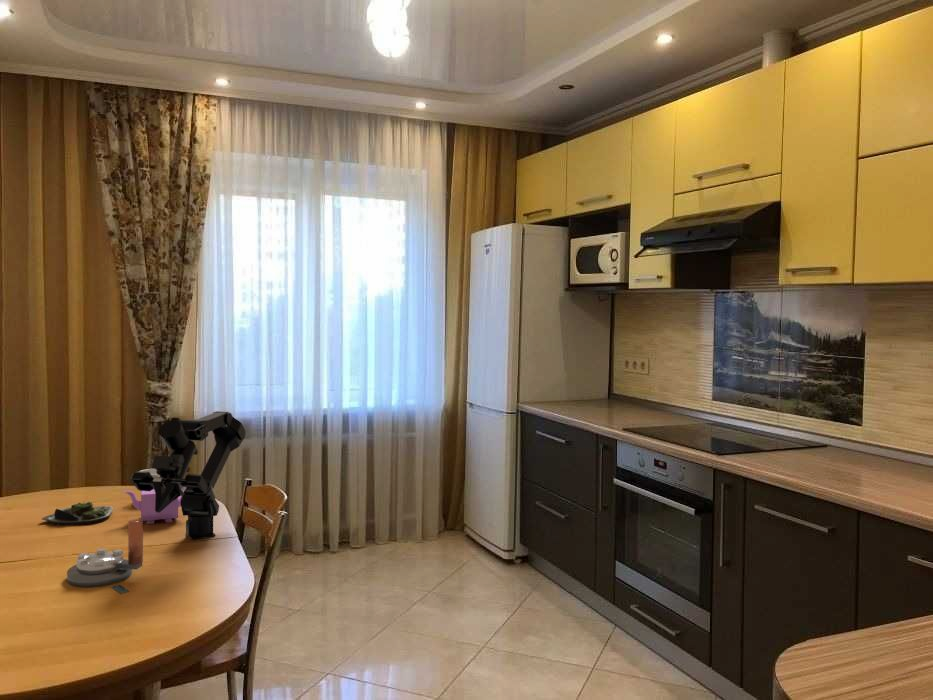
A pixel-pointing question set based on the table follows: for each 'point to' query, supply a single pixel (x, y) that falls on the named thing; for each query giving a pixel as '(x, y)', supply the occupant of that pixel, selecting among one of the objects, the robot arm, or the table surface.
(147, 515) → the teapot
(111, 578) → the flange base
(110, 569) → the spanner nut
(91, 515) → the salad plate
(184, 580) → the table surface
